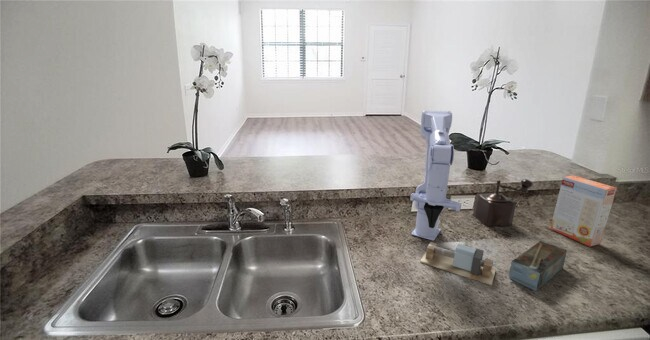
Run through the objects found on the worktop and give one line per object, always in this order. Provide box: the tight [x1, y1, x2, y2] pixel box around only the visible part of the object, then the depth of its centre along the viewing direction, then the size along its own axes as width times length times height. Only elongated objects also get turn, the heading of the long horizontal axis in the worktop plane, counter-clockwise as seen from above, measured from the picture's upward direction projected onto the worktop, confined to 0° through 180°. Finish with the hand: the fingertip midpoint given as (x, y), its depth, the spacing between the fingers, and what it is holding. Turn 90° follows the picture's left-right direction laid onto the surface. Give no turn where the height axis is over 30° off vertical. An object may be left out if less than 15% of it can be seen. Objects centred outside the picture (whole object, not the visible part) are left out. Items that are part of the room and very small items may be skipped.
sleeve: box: [453, 243, 477, 271], centre depth 98 cm, size 5×5×6 cm
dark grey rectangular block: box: [470, 248, 485, 276], centre depth 97 cm, size 2×5×5 cm, turn 147°
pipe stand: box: [419, 241, 496, 286], centre depth 100 cm, size 20×8×4 cm, turn 58°
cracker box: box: [550, 175, 617, 247], centre depth 116 cm, size 14×6×21 cm, turn 22°
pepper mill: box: [472, 178, 534, 228], centre depth 128 cm, size 16×11×18 cm
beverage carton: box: [508, 240, 567, 292], centre depth 97 cm, size 8×19×7 cm, turn 127°
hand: (431, 226), depth 102 cm, fingers closed
